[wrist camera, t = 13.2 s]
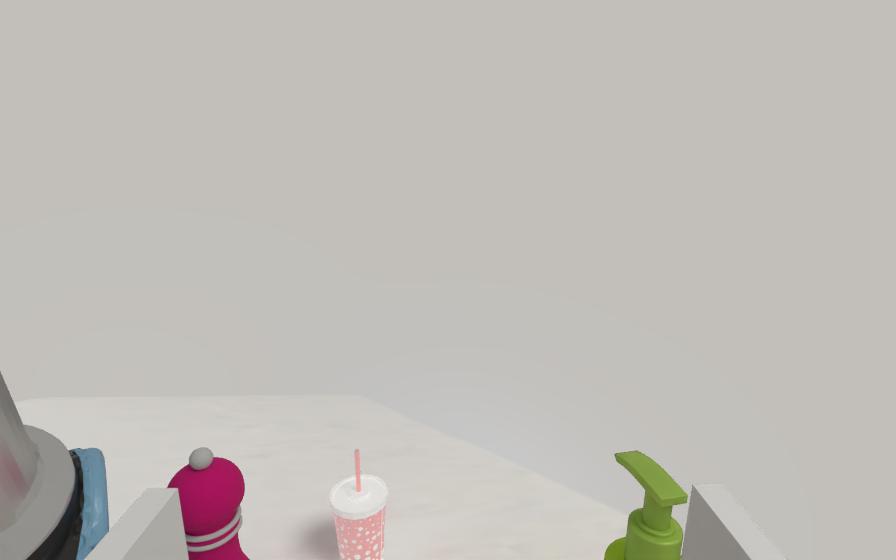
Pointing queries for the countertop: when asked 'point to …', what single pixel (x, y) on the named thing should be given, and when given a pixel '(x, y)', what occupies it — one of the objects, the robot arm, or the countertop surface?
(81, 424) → the countertop surface
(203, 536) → the pepper mill
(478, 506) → the countertop surface
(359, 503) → the beverage cup
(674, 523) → the soap dispenser
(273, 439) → the countertop surface
